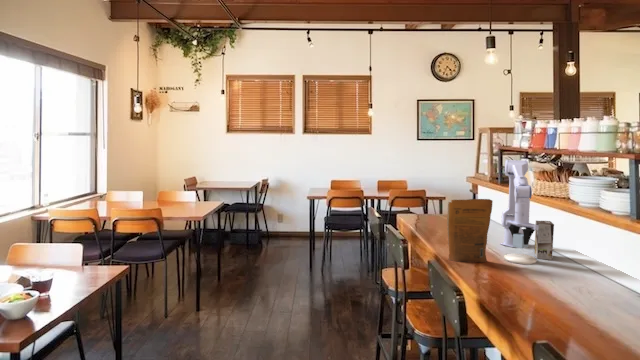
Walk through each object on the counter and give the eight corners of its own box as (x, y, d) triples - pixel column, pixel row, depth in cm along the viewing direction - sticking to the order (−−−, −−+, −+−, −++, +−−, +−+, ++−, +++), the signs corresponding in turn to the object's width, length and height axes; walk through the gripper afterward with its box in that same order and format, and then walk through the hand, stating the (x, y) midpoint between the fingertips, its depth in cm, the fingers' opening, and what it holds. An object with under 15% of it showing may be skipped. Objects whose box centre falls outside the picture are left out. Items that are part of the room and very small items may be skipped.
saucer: (515, 254, 196) (516, 252, 196) (542, 261, 185) (542, 258, 185) (497, 258, 189) (498, 256, 189) (524, 266, 178) (524, 263, 178)
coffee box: (552, 260, 187) (554, 224, 186) (536, 258, 189) (538, 223, 188) (549, 254, 196) (550, 220, 194) (533, 253, 198) (535, 219, 196)
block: (519, 244, 190) (519, 232, 189) (528, 247, 186) (528, 234, 185) (512, 246, 187) (513, 234, 187) (522, 248, 183) (522, 235, 183)
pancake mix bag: (492, 264, 181) (494, 199, 179) (446, 262, 184) (448, 199, 182) (488, 259, 188) (490, 197, 185) (444, 258, 191) (446, 197, 188)
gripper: (501, 211, 189) (500, 240, 191) (532, 216, 177) (530, 247, 178) (511, 210, 193) (510, 239, 194) (541, 214, 180) (540, 245, 182)
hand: (520, 243), depth 186 cm, fingers closed on block, 4 cm apart
